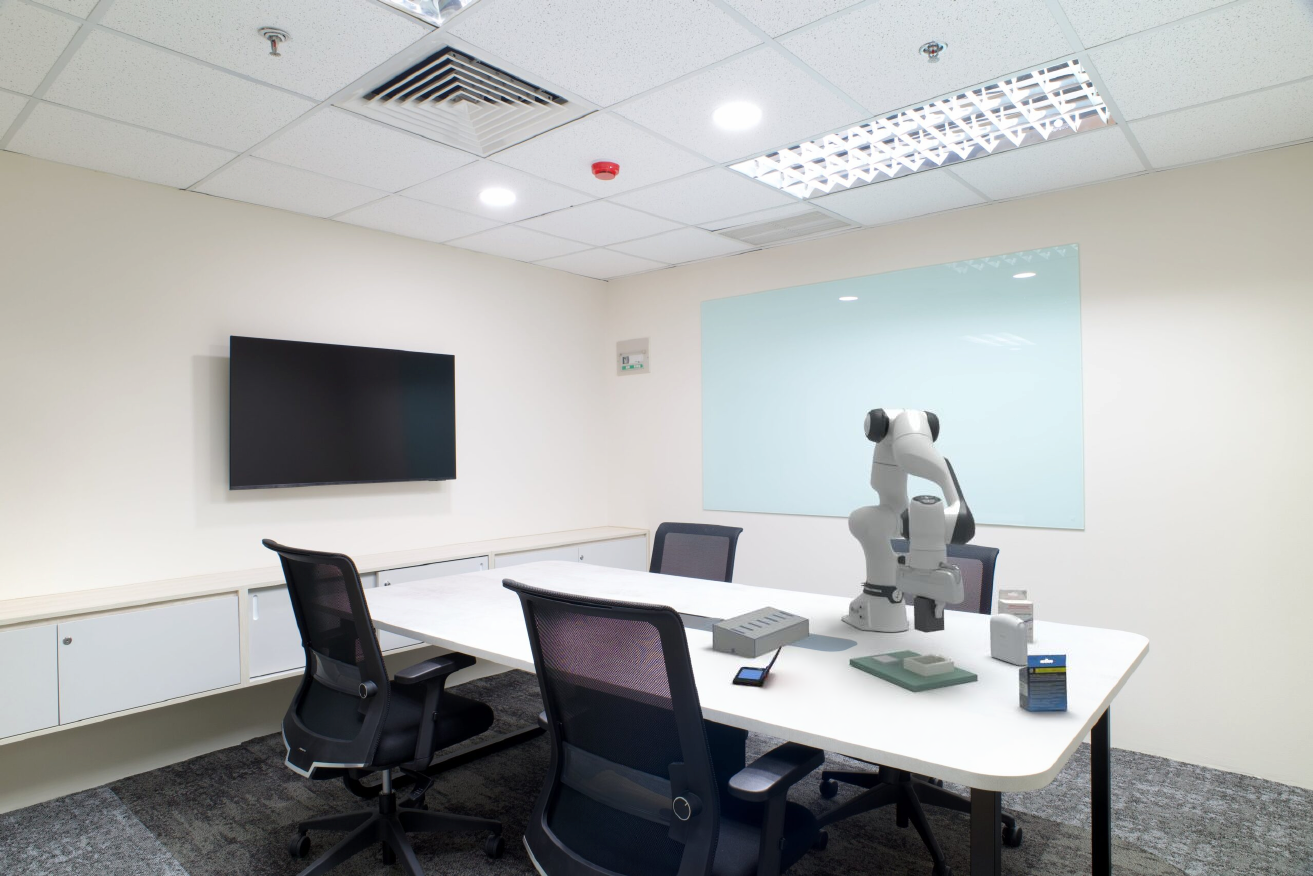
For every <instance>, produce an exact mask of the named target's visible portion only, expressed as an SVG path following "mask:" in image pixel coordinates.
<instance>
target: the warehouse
mask: <svg viewBox="0 0 1313 876" xmlns="http://www.w3.org/2000/svg"><path fill="white" fill-rule="evenodd" d="M808 637H810V618H806V617H804V616H800V615H798V614H794V613H792V612H791V613H790V612H787V611H785V610H781V609H778V608H775V607H772V606H766V607H762V608H759V609H756V610H753V611H749V612H747V613H743V614H740V615H737V616H733V617H731V618H727V619H725V620H722V621H719V622H716V623H713V624H712V650H715V651H720V652H725V653H728V654H729V653H730V654H735V655H739V656H743V657H748V658H752V659H756V658H759V657H762V656H764V655H766V654H769V653H771V652H773V651H777V650H778V649H779V648H780V646H781V647H782V648H784V647H785V646H788V645H791V644H793V643H796V642H798V641H802V640H803V639H806V638H808Z"/></svg>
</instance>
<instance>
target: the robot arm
mask: <svg viewBox="0 0 1313 876" xmlns="http://www.w3.org/2000/svg"><path fill="white" fill-rule="evenodd" d="M863 422H864V423H863V431H864V435H865V438H867V440H868V441H870V442H873V443H875V445H874V449H873V455H872V465H871V472H870V483H869V484H870V486H871V488H872V489H873V491H875V492H877V494H878V498H879V505H867V506H866V505H865V506H862V507H859V508H856V509H854V510H853V511H852V512H850V515H849V517H848V520H847V523H848V530H849V532H850V533H851V534H852V536H853V537H854V538H855V539H856V540H857V541H858V542H859V543H860V546H861V548H862V550H863V553H864V557H865V567H866V569H865V570H866V581H865V582H861V583H860V584H862V585H860V586H861V587H863V590H862V593H861V594H859V595H858V596H857V597H856V598H854V599H853V600H851V602H850V603H849V606H848V614H846V615H843V616H842V617H841V621H843V622H845V623H847V624H849V625H851V626H853V627H855V628H857V629H859V630H862V631H874V632H886V633H891V632H892V633H895V632H896V633H897V632H904V631H907V630H908V629H909V628H910V627H909V625H910V621H909V620H908V616H907V608H906V607H907V606H906V600H905V598H904V595H905V594H909V595H912V600H913V601H914V597H925V598H930V599H934V600H935V604H937V606H936V608H935V610H932V613H933V614H932V616H933V617H935V618H941V617H942V610H943V608H944V609H945V606H946V604H947V603H948V604H951V605H952V604H953V605H954V604H962V603H963V602H964V599H965V590H964V589H965V588H964V581H963V577H962V572H961V571H962V570H960V568H958V566H957V565H955V564H949V563H947V562H948V560H947V557H948V555H947V545H953V546H964V545H967V543H969V542H971V540H972V539H973V538H974V537H975V536H976V521H975V519H974V515H973V513H972V512H971V509H970V508H969V506H968V504H967V502H966V498H965V497H964V493H963V491H962V488H961V486H960V483H959V481H958V478H957V475H956V473H955V471H954V468H953V465H952V464H951V462H950V460H949V459H948V458H946V457H945V456H943V455H941V454H940V453H939V451H938V450H937V449H936V447H935V444H934V443H935V442H937V440H938V437H939V435H940V431H941V430H940V429H941V424H940V419H939V417H938V416H937V414H936V413H933V412H930V411H927V410H923V411H921V410H918V409H917V410H916V409H908V408H884V409H883V408H881V407H880V408H873V409H871V410H870V411H869V412H867V413H866V417H865V419H864V421H863ZM908 475H910V476H913V477H918V478H921V479H924V480H928V481H930V482H932V483H935V484H936V485H938V486H939V487H940V488H941V491H942V494H943V496H944V499H945V501H946V502H945V503H946V505H947V506H944V502H943V500H942V498H940V497H939V496H936V495H927V494H922V495H921V494H920V495H917V496H916V495H915V496H914V497H912V498H911V499H909V494H908ZM851 534H850V535H851ZM892 539H904V540H905V541H907V542H910V543H909V549H908V550H909V551H908V552H906V553H902V554H898V553H896V552H895V550H894V549H893V547H892V543H891V540H892Z"/></svg>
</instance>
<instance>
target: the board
mask: <svg viewBox="0 0 1313 876" xmlns="http://www.w3.org/2000/svg"><path fill="white" fill-rule="evenodd" d="M849 665H850V666H852V667H854V668H857V669H859V670H861V671H863V672H865V673H869V674H871V675H872V676H874V677H878V678H880V679H883V680H884V681H887V682H889V683H891V684H894V685H897V686H899V687H901V688H903V689H904V688H905V689H906V690H909V691H911V692H913V693H917V692H923V691H929V690H934V689H939V688H943V687H946V688H947V687H951V686H956V685H961V684H967V683H973V682H977V681H978V674H977V673H974V672H971V671H969V670H965V669H963V668H961V667H960V668H959V667H957V666H955V661H954V660H952V659H951V658H949V657H946V656H943V655H941V654H940V655H939V654H938V655H936V654H934V653H930V654H919V653H917V652H914V651H912V650H909V649H908V650H907V649H906V650H902V651H895V652H889V653H888V652H887V653H882V654H875V655H874V654H873V655H868V656H861V657H855V658H854V657H853V658H850V659H849Z"/></svg>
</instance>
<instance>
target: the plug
mask: <svg viewBox="0 0 1313 876" xmlns="http://www.w3.org/2000/svg"><path fill="white" fill-rule="evenodd" d="M936 606H937V604H935V600H934V599H930V598H925V597H914V600H913V619H914V620H913V621H914V622H913V626H914V627H913V629H914V630H916V631H918V632H923V633H932V632H933V633H934V632H939V631H945V607H944V608H943V610H942V617H941V618H935V617H933V616H932V614H933V613H932V610H935V608H936Z"/></svg>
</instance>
